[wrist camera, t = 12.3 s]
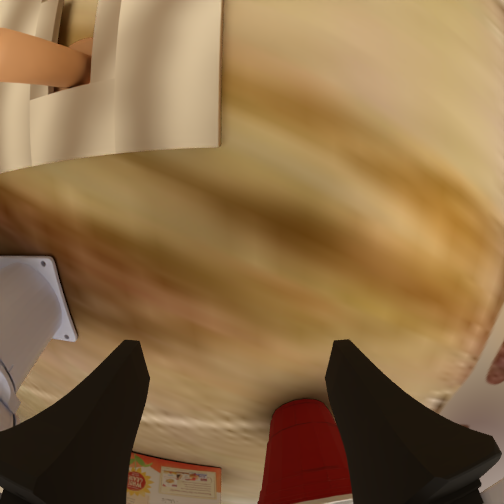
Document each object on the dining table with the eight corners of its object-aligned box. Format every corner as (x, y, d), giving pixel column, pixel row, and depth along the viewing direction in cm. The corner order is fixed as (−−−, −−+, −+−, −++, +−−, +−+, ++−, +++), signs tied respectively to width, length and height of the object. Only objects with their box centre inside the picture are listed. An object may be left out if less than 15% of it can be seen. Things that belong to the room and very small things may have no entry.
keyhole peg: (60, 117, 15) (-37, 127, 7) (53, 57, 13) (-38, 40, 5) (121, 92, 15) (33, 75, 7) (112, 29, 13) (34, -18, 5)
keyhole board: (-2, 172, 16) (-18, 177, 14) (27, -52, 7) (16, -59, 6) (220, 145, 17) (218, 147, 15) (231, -108, 8) (230, -121, 6)
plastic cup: (243, 442, 29) (246, 535, 18) (249, 383, 24) (254, 508, 13) (335, 437, 29) (356, 521, 18) (363, 378, 25) (404, 484, 14)
